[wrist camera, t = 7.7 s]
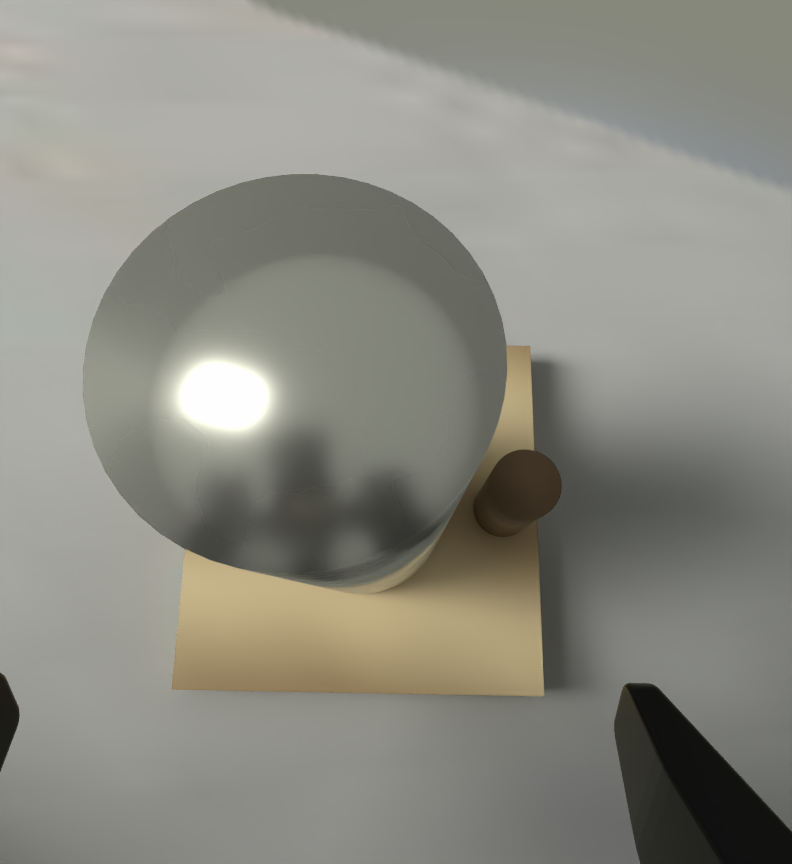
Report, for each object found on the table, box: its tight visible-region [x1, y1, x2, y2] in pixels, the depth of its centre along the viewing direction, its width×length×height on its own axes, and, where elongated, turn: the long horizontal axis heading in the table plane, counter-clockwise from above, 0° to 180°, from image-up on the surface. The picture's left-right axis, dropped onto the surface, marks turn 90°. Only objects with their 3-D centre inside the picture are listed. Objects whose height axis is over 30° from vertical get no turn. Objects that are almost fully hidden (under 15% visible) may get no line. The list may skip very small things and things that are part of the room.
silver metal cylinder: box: [83, 174, 507, 594], centre depth 13 cm, size 5×5×12 cm
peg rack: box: [172, 346, 561, 696], centre depth 17 cm, size 10×10×5 cm
